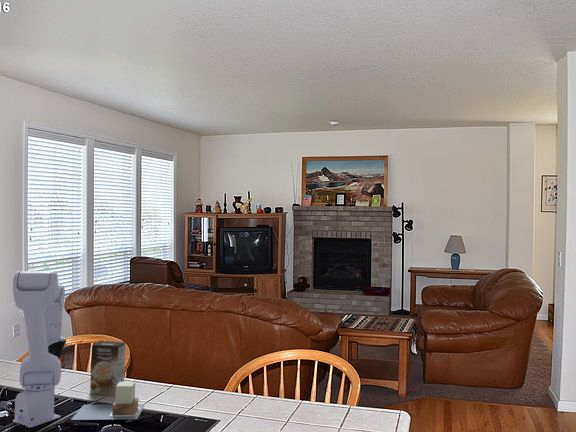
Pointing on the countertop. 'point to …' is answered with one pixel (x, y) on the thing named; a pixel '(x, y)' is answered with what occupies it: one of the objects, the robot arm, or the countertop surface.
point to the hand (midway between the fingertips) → (50, 367)
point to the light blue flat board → (103, 413)
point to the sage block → (125, 392)
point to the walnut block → (125, 408)
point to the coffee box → (107, 367)
